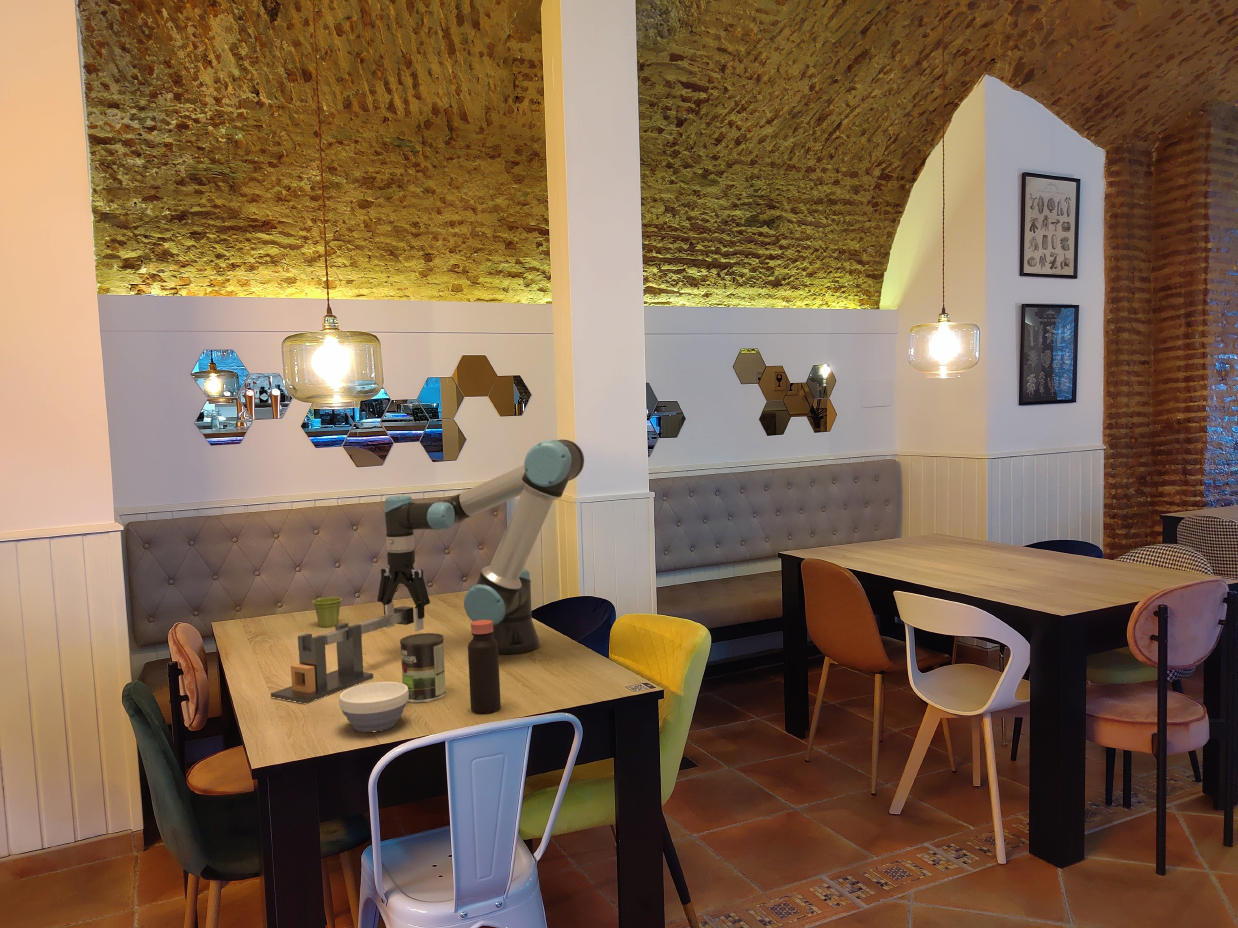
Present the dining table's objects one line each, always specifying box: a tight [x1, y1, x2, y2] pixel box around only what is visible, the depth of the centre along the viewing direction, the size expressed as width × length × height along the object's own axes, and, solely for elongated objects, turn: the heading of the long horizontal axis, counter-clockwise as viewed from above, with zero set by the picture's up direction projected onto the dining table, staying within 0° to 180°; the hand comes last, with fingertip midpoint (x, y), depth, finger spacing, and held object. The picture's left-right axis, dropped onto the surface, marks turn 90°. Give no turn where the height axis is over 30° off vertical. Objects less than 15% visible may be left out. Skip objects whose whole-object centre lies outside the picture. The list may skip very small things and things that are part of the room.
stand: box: [270, 622, 374, 704], centre depth 210 cm, size 12×22×14 cm, turn 151°
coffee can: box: [399, 632, 447, 704], centre depth 201 cm, size 10×10×14 cm
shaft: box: [321, 605, 415, 646], centre depth 224 cm, size 4×30×4 cm, turn 151°
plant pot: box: [312, 596, 343, 628], centre depth 280 cm, size 9×9×9 cm
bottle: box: [467, 620, 502, 715], centre depth 189 cm, size 7×7×20 cm
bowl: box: [338, 681, 409, 733], centre depth 182 cm, size 14×14×8 cm
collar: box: [290, 663, 316, 693], centre depth 205 cm, size 6×2×6 cm, turn 61°
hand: (404, 628), depth 236 cm, fingers open, 10 cm apart
